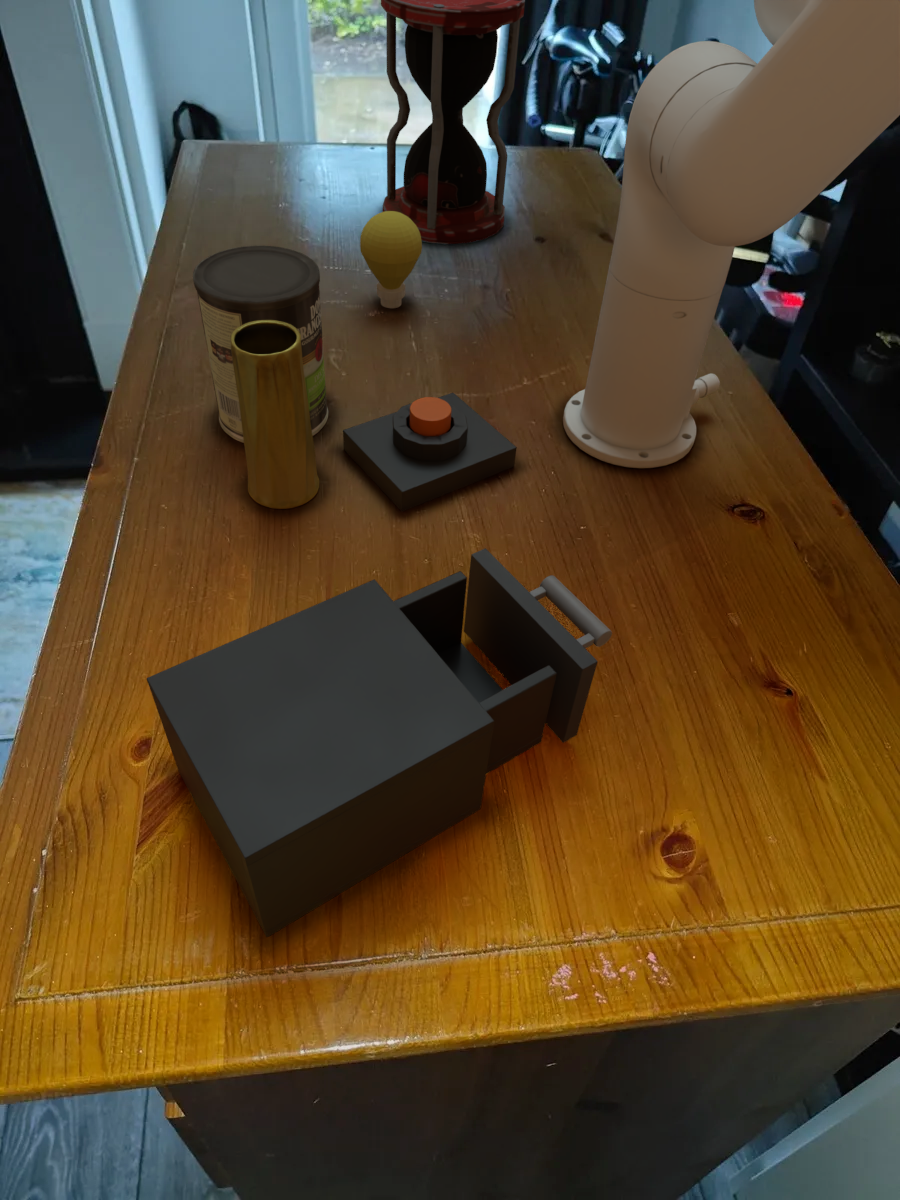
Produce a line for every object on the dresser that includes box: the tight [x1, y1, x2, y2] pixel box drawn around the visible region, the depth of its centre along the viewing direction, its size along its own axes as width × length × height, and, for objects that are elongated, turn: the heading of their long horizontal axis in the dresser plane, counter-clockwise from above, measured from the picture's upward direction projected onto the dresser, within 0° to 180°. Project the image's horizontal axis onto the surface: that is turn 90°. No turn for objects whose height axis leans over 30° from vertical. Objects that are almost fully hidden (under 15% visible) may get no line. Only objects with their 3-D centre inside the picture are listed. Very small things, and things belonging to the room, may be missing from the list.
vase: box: [231, 320, 320, 510], centre depth 68 cm, size 6×6×14 cm
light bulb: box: [359, 211, 423, 309], centre depth 92 cm, size 7×7×10 cm
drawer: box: [393, 548, 613, 775], centre depth 54 cm, size 18×11×8 cm, turn 124°
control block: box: [342, 392, 517, 512], centre depth 75 cm, size 12×10×4 cm
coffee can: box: [192, 245, 329, 444], centre depth 75 cm, size 10×10×14 cm
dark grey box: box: [146, 579, 494, 938], centre depth 49 cm, size 15×13×10 cm
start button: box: [410, 396, 451, 436], centre depth 73 cm, size 4×4×2 cm
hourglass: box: [380, 0, 526, 245], centre depth 103 cm, size 16×16×25 cm
